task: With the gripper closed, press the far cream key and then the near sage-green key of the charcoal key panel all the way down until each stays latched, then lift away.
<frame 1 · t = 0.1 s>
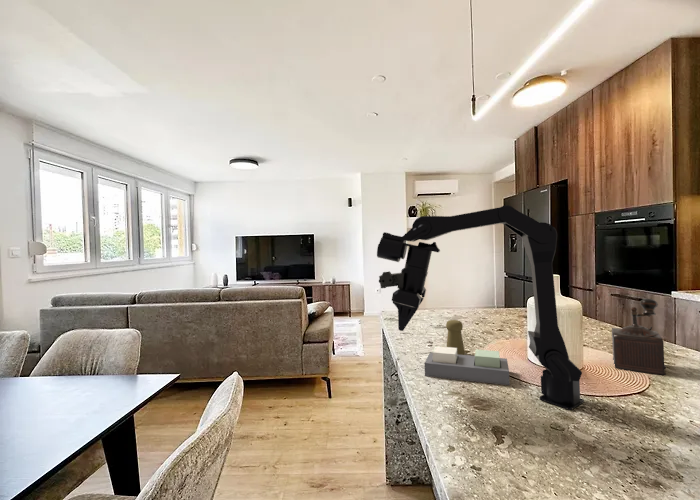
hand: (403, 326, 84), 15 cm above the countertop, tool pointing down, fingers open, 9 cm apart
sage key: (487, 359, 89), point 4 cm above the countertop, slide at 0.0 cm
cream key: (445, 355, 93), point 4 cm above the countertop, slide at 0.0 cm
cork: (455, 354, 108), on the countertop
key panel: (466, 373, 91), on the countertop
brown manual coffee grinder: (637, 364, 93), on the countertop
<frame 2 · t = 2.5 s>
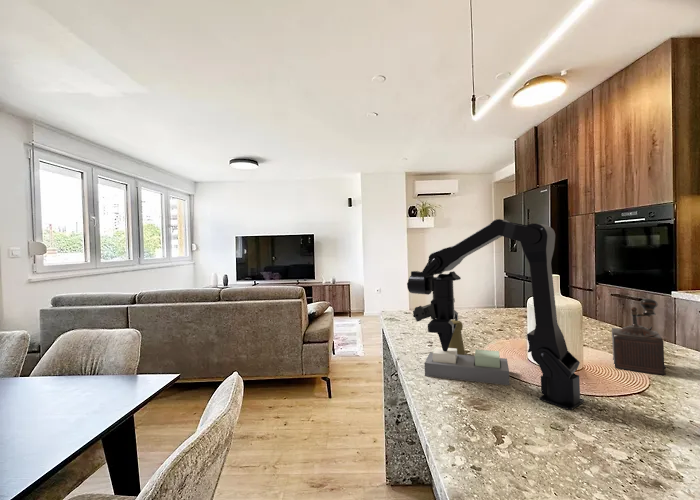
hand: (445, 350, 93), 6 cm above the countertop, tool pointing down, fingers closed, pressing on cream key
cream key: (445, 356, 93), point 4 cm above the countertop, slide at 0.2 cm, touching gripper
everything else where it was.
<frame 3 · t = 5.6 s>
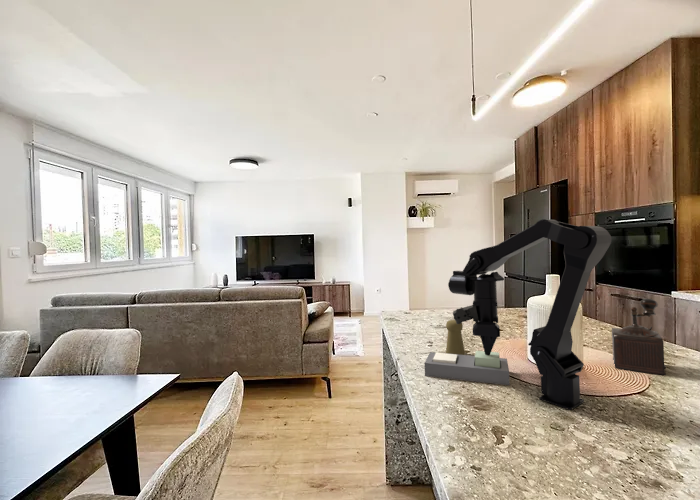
hand: (487, 354, 89), 6 cm above the countertop, tool pointing down, fingers closed, pressing on sage key
sage key: (487, 360, 89), point 4 cm above the countertop, slide at 0.4 cm, touching gripper
cream key: (445, 362, 93), point 3 cm above the countertop, slide at 1.9 cm
everything else where it was.
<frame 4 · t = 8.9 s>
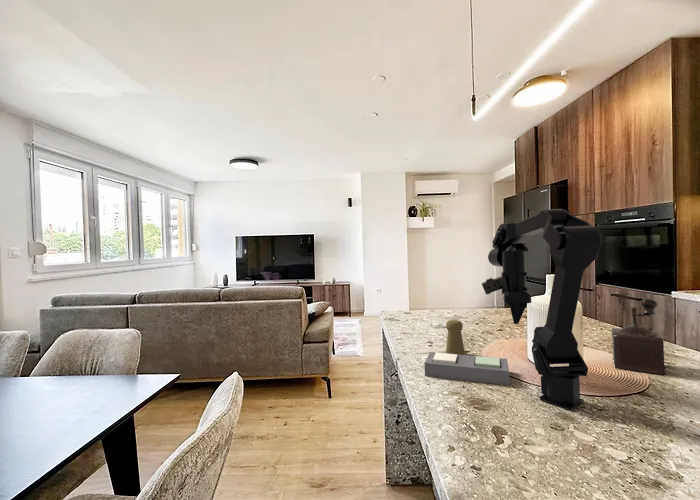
hand: (516, 323, 92), 13 cm above the countertop, tool pointing down, fingers closed
sage key: (487, 366, 89), point 3 cm above the countertop, slide at 1.9 cm
everything else where it was.
at the end: cream key slide at 1.9 cm; sage key slide at 1.9 cm; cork moved 0.2 cm from its start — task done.
